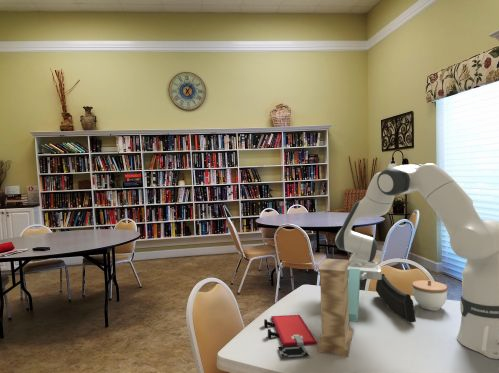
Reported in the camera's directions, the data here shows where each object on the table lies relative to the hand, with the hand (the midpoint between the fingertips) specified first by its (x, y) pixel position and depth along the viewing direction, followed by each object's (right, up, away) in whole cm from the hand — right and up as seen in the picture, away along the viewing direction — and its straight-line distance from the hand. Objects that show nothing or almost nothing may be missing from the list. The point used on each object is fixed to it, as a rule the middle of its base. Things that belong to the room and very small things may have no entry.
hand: (354, 277), depth 133 cm
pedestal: (-13, -15, -23) cm, 31 cm away
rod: (-2, -6, -5) cm, 8 cm away
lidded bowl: (+32, -13, +3) cm, 35 cm away
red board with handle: (-28, -16, -17) cm, 37 cm away
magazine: (+17, -14, +3) cm, 22 cm away
